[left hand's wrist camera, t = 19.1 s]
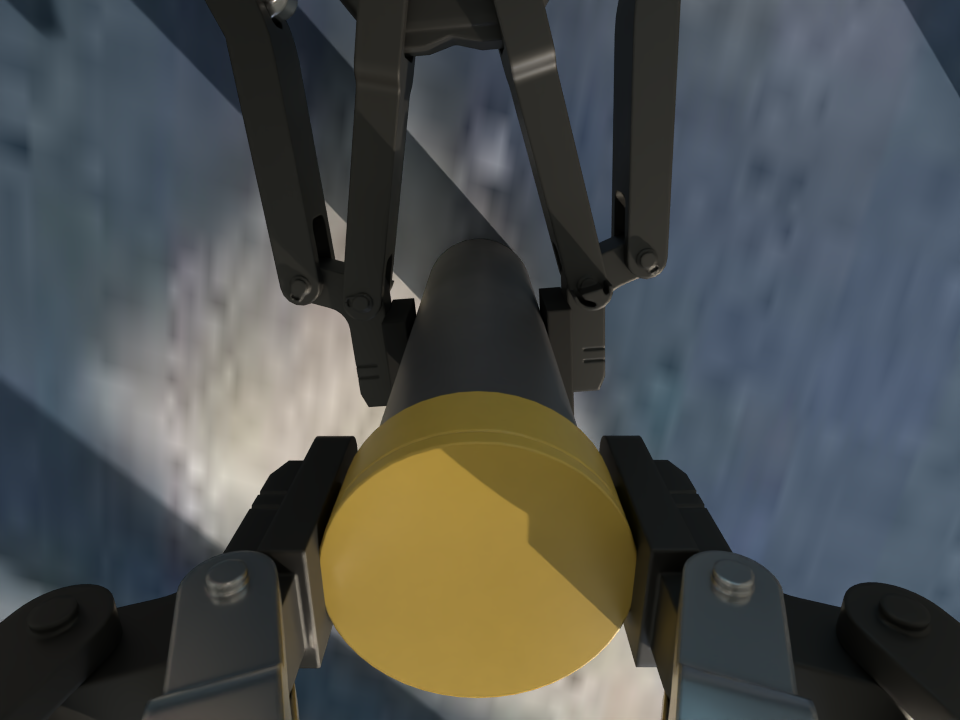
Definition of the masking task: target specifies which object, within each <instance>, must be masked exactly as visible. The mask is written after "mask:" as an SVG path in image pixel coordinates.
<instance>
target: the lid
mask: <svg viewBox="0 0 960 720" xmlns="http://www.w3.org/2000/svg"><path fill="white" fill-rule="evenodd" d="M319 555H320V565H321V574H322V582H323V590H324V598H325V606H326V611H327V613H328V616H329V617H330V619H331V621H332V623H333V625H334V626H335V628H336V630H337V631H338V632H339V634H340V635H341V636H342V638H343V639H344V640H345V642H346V643H347V644H348V645H349V646H350V647H351V648H352V649H353V650H354V651H355V652H356V653H357V654H358V655H359V656H360V657H362V658H363V659H364V660H365V661H367V662H368V663H369V664H370V665H372V666H373V667H375V668H376V669H378V670H379V671H381V672H383V673H384V674H386V675H388V676H390V677H392V678H394V679H396V680H398V681H400V682H402V683H404V684H407V685H410V686H413V687H416V688H418V689H421V690H425V691H429V692H433V693H437V694H442V695H449V696H456V697H470V698H486V697H500V696H507V695H514V694H519V693H523V692H527V691H531V690H535V689H538V688H541V687H543V686H546V685H549V684H552V683H554V682H556V681H558V680H560V679H562V678H564V677H566V676H568V675H570V674H572V673H573V672H575V671H577V670H578V669H580V668H581V667H583V666H584V665H586V664H587V663H588V662H589V661H591V660H592V659H593V658H594V657H596V656H597V655H598V654H599V653H600V652H601V651H602V650H603V649H604V648H605V647H606V646H607V645H608V644H609V643H610V642H611V640H612V639H613V638H614V636H615V635H616V634H617V632H618V631H619V630H620V628H621V626H622V624H623V623H624V621H625V619H626V617H627V615H628V613H629V610H630V608H631V601H632V593H633V585H634V576H635V568H636V557H637V551H636V546H635V542H634V539H633V536H632V532H631V529H630V527H629V524H628V521H627V519H626V516H625V513H624V511H623V508H622V505H621V503H620V500H619V497H618V494H617V492H616V489H615V486H614V484H613V481H612V478H611V476H610V473H609V470H608V468H607V466H606V464H605V462H604V460H603V458H602V456H601V455H600V453H599V452H598V450H597V449H596V447H595V446H594V444H593V443H592V442H591V441H590V439H589V438H588V437H587V436H586V435H585V434H584V433H583V432H582V431H581V430H580V429H579V428H578V427H577V426H575V425H574V424H573V423H572V422H570V421H569V420H568V419H567V418H565V417H563V416H562V415H560V414H559V413H557V412H555V411H554V410H552V409H550V408H548V407H546V406H543V405H541V404H539V403H537V402H535V401H531V400H528V399H525V398H522V397H519V396H515V395H509V394H504V393H498V392H484V391H473V392H458V393H452V394H447V395H441V396H438V397H434V398H431V399H428V400H425V401H422V402H419V403H417V404H415V405H413V406H410V407H408V408H406V409H404V410H402V411H401V412H399V413H398V414H396V415H394V416H393V417H391V418H389V419H388V420H387V421H386V422H384V423H383V424H382V425H381V426H380V427H378V428H377V429H376V430H375V431H374V432H373V433H372V434H371V435H370V436H369V437H368V439H367V440H366V441H365V442H364V443H363V445H362V446H361V447H360V449H359V450H358V452H357V453H356V455H355V456H354V458H353V460H352V463H351V465H350V467H349V469H348V471H347V474H346V476H345V479H344V481H343V484H342V487H341V489H340V492H339V495H338V497H337V500H336V502H335V505H334V508H333V510H332V513H331V516H330V518H329V521H328V523H327V526H326V529H325V531H324V535H323V538H322V541H321V545H320V550H319Z"/></svg>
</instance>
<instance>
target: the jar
mask: <svg viewBox="0 0 960 720" xmlns="http://www.w3.org/2000/svg"><path fill="white" fill-rule="evenodd" d="M473 391H484V392H498V393H504V394H509V395H515V396H519V397H522V398H525V399H528V400H531V401H535V402H537V403H539V404H541V405H543V406H546V407H548V408H550V409H552V410H554V411H555V412H557V413H559V414H560V415H562V416H563V417H565V418H567V419H568V420H569V421H570V422H572V423H573V424H574V425H575V426H577V424H576V421H575V418H574V415H573V412H572V409H571V406H570V403H569V400H568V397H567V393H566V390H565V387H564V384H563V381H562V378H561V375H560V372H559V369H558V366H557V362H556V359H555V356H554V353H553V350H552V347H551V344H550V341H549V338H548V335H547V331H546V328H545V325H544V322H543V319H542V316H541V313H540V310H539V307H538V304H537V301H536V297H535V294H534V291H533V288H532V285H531V282H530V279H529V276H528V273H527V270H526V268H525V266H524V264H523V263H522V261H521V260H520V258H519V257H518V256H517V255H516V254H515V253H514V252H513V251H512V250H510V249H509V248H508V247H506V246H504V245H502V244H500V243H498V242H495V241H491V240H486V239H472V240H467V241H463V242H460V243H458V244H456V245H454V246H452V247H451V248H449V249H448V250H446V251H445V252H444V253H443V254H442V255H441V256H440V257H439V258H438V260H437V261H436V263H435V264H434V266H433V268H432V270H431V273H430V276H429V279H428V282H427V285H426V288H425V291H424V294H423V297H422V300H421V303H420V306H419V309H418V312H417V315H416V318H415V321H414V324H413V327H412V330H411V333H410V336H409V339H408V343H407V346H406V349H405V352H404V355H403V358H402V361H401V364H400V367H399V370H398V373H397V376H396V379H395V382H394V385H393V388H392V391H391V394H390V397H389V400H388V403H387V406H386V409H385V412H384V415H383V418H382V421H381V424H380V426H381V425H382V424H383V423H384V422H386V421H387V420H388V419H389V418H391V417H393V416H394V415H396V414H398V413H399V412H401V411H402V410H404V409H406V408H408V407H410V406H413V405H415V404H417V403H419V402H422V401H425V400H428V399H431V398H434V397H438V396H441V395H447V394H452V393H458V392H473Z"/></svg>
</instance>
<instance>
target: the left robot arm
mask: <svg viewBox="0 0 960 720" xmlns="http://www.w3.org/2000/svg"><path fill="white" fill-rule="evenodd" d="M357 452H358V450H357V443H356V439H355V437H354V436H317V437H316V438H315V440H314V441H313V443H312V445H311V447H310V449H309V451H308V453H307V455H306V457H305V459H304V461H288V462H287V463H285V464H284V465H283V466H281V467H280V468H279V469H277V470H276V471H275V472H273V473H272V474H271V475H270V476H269V477H268V479H267V481H266V482H265V484H264V486H263V487H262V489H261V491H260V495H258V496H257V498H256V499H255V501H254V503H253V504H252V509H249V511H248V513H247V514H246V516H245V518H244V519H243V521H242V523H241V524H240V526H239V528H238V529H237V531H236V533H235V534H234V536H233V538H232V539H231V541H230V543H229V544H228V546H227V548H226V549H225V551H224V553H223V554H220V555H218V556H215V557H212V558H210V559H208V560H206V561H204V562H203V563H201V564H199V565H198V566H196V567H195V568H194V569H192V570H191V571H190V572H189V573H188V574H187V575H186V576H185V577H184V579H183V580H182V581H181V583H180V585H179V587H178V590H177V593H174V594H171V595H169V596H165V597H162V598H158V599H154V600H150V601H145V602H141V603H136V604H132V605H128V606H123V607H119V608H116V605H115V601H114V598H113V595H112V593H111V592H110V591H109V590H108V589H106V588H104V587H102V586H99V585H93V584H80V585H72V586H68V587H63V588H60V589H57V590H53V591H51V592H48V593H46V594H43V595H41V596H39V597H37V598H35V599H33V600H31V601H30V602H28V603H26V604H25V605H23V606H22V607H20V608H19V609H18V610H16V611H15V612H13V613H12V614H11V615H10V616H8V617H7V618H6V619H5V620H3V621H2V622H1V623H0V720H299V713H298V702H297V695H296V689H295V679H296V676H297V672H298V669H299V668H320V666H321V663H322V660H323V656H324V653H325V649H326V646H327V643H328V639H329V636H330V632H331V629H332V625H333V623H332V621H331V619H330V617H329V616H328V613H327V611H326V606H325V598H324V590H323V582H322V574H321V565H320V555H319V550H320V545H321V541H322V538H323V535H324V531H325V529H326V526H327V523H328V521H329V518H330V516H331V513H332V510H333V508H334V505H335V502H336V500H337V497H338V495H339V492H340V489H341V487H342V484H343V481H344V479H345V476H346V474H347V471H348V469H349V467H350V465H351V463H352V460H353V458H354V456H355V455H356V453H357ZM599 453H600V455H601V456H602V458H603V460H604V462H605V464H606V466H607V468H608V470H609V473H610V476H611V478H612V481H613V484H614V486H615V489H616V492H617V494H618V497H619V500H620V503H621V505H622V508H623V511H624V513H625V516H626V519H627V521H628V524H629V527H630V529H631V532H632V536H633V539H634V542H635V546H636V551H637V557H636V568H635V576H634V585H633V593H632V601H631V608H630V610H629V613H628V615H627V617H626V619H625V621H624V627H625V630H626V634H627V637H628V641H629V644H630V648H631V651H632V655H633V658H634V662H635V665H636V667H657V669H658V672H659V675H660V678H661V681H662V685H663V688H664V695H663V702H662V713H661V720H960V623H959V622H958V621H957V620H955V619H954V618H953V617H952V616H950V615H949V614H948V613H947V612H945V611H944V610H943V609H941V608H940V607H939V606H937V605H936V604H934V603H933V602H931V601H929V600H928V599H926V598H924V597H922V596H920V595H918V594H916V593H914V592H911V591H909V590H906V589H904V588H901V587H897V586H894V585H889V584H884V583H877V582H867V583H860V584H857V585H854V586H852V587H850V588H849V589H848V590H847V591H846V593H845V596H844V599H843V602H842V606H841V607H837V606H832V605H828V604H824V603H819V602H815V601H810V600H806V599H802V598H797V597H794V596H790V595H787V594H784V593H783V590H782V587H781V585H780V583H779V581H778V580H777V579H776V577H775V576H774V575H773V574H772V573H771V572H770V571H769V570H768V569H766V568H765V567H764V566H762V565H761V564H759V563H757V562H756V561H754V560H752V559H750V558H748V557H745V556H742V555H740V554H736V553H733V552H732V551H731V549H730V547H729V546H728V544H727V542H726V541H725V539H724V537H723V535H722V534H721V532H720V530H719V529H718V527H717V525H716V524H715V522H714V520H713V518H712V517H711V515H710V513H709V512H708V510H707V508H704V503H703V501H702V500H701V498H700V496H699V495H698V494H696V490H695V488H694V486H693V484H692V483H691V481H690V479H689V478H688V476H687V474H686V473H684V472H683V471H682V470H680V469H679V468H678V467H676V466H675V465H674V464H672V463H671V462H670V461H668V460H653V459H652V457H651V455H650V453H649V451H648V449H647V447H646V445H645V443H644V441H643V440H642V438H641V437H640V436H603V437H602V438H601V442H600V450H599Z"/></svg>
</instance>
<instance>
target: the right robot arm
mask: <svg viewBox="0 0 960 720" xmlns="http://www.w3.org/2000/svg"><path fill="white" fill-rule="evenodd" d="M205 1H206V3H207V5H208V7H209V9H210V10H211V12H212V14H213V16H214V18H215V19H216V21H217V23H218V25H219V27H220V28H221V30H222V32H223V34H224V36H225V38H226V42H227V47H228V51H229V56H230V60H231V65H232V69H233V74H234V79H235V83H236V88H237V92H238V97H239V101H240V106H241V110H242V115H243V119H244V124H245V129H246V133H247V138H248V142H249V147H250V151H251V156H252V160H253V165H254V169H255V174H256V179H257V183H258V188H259V192H260V197H261V201H262V206H263V210H264V215H265V220H266V224H267V229H268V233H269V238H270V242H271V247H272V251H273V256H274V260H275V265H276V270H277V274H278V279H279V283H280V288H281V290H282V293H283V295H284V296H285V297H286V298H287V299H288V301H290V302H292V303H294V304H296V305H307V304H311V303H313V304H317V305H321V306H324V307H328V308H331V309H334V310H336V311H338V312H339V313H341V314H342V315H343V316H344V317H345V318H346V320H347V322H348V324H349V327H350V331H351V337H352V344H353V350H354V356H355V362H356V366H357V374H358V378H359V386H360V392H361V395H362V397H363V398H364V400H365V402H366V403H367V405H368V406H369V407H377V406H387V403H388V400H389V397H390V394H391V391H392V388H393V385H394V382H395V379H396V376H397V373H398V370H399V367H400V364H401V361H402V358H403V355H404V352H405V349H406V346H407V343H408V339H409V336H410V333H411V330H412V327H413V324H414V321H415V318H416V309H415V301H414V298H410V299H397V300H393V301H392V303H391V297H390V290H391V288H392V286H393V283H394V281H393V280H392V274H393V264H394V253H395V243H396V233H397V222H398V212H399V201H400V191H401V181H402V170H403V160H404V150H405V139H406V129H407V119H408V108H409V98H410V92H411V88H412V83H413V75H414V65H415V56H422V55H431V54H433V53H436V52H438V51H441V50H443V49H446V48H448V47H451V46H453V45H460V46H464V47H469V48H474V49H479V50H490V49H499V53H500V57H501V61H502V64H503V68H504V71H505V75H506V78H507V81H508V84H509V87H510V90H511V94H512V98H513V101H514V105H515V109H516V113H517V116H518V120H519V124H520V127H521V131H522V135H523V139H524V142H525V146H526V150H527V153H528V157H529V161H530V165H531V168H532V172H533V176H534V179H535V183H536V187H537V191H538V194H539V198H540V202H541V205H542V209H543V213H544V217H545V220H546V224H547V228H548V231H549V235H550V239H551V243H552V246H553V250H554V254H555V257H556V261H557V265H558V269H559V272H560V275H561V287H554V288H541V289H539V300H540V313H541V316H542V319H543V322H544V325H545V328H546V331H547V335H548V338H549V341H550V344H551V347H552V350H553V353H554V356H555V359H556V362H557V366H558V369H559V372H560V375H561V378H562V381H563V384H564V387H565V390H566V393H567V397H568V400H569V403H570V406H571V409H572V412H573V415H574V398H573V392H580V391H594V390H599V389H600V387H601V384H602V382H603V380H604V377H605V306H606V304H607V303H608V302H609V301H610V299H611V297H612V294H613V291H614V290H615V289H616V288H618V287H620V286H621V285H624V284H626V283H628V282H631V281H633V280H635V279H638V278H643V279H649V278H653V277H655V276H657V275H658V274H659V273H661V272H662V270H663V269H664V267H665V266H666V262H667V257H668V238H669V218H670V198H671V179H672V159H673V139H674V120H675V100H676V80H677V61H678V41H679V22H680V2H681V0H619V2H618V7H617V13H616V23H615V47H614V108H613V170H612V232H611V238H609V239H607V240H605V241H602V242H600V243H599V242H598V238H597V234H596V229H595V225H594V221H593V217H592V213H591V209H590V205H589V200H588V196H587V192H586V188H585V184H584V180H583V175H582V171H581V167H580V163H579V159H578V155H577V150H576V146H575V142H574V138H573V134H572V130H571V126H570V121H569V117H568V113H567V109H566V105H565V101H564V96H563V92H562V88H561V84H560V80H559V76H558V71H557V66H556V55H555V49H554V44H553V39H552V35H551V31H550V27H549V23H548V18H547V14H546V10H545V7H546V5H547V3H548V1H549V0H340V1H341V2H342V4H343V5H344V6H345V7H346V8H347V10H348V11H349V12H350V13H351V15H352V16H353V17H354V18H355V20H356V21H357V22H356V38H355V54H354V74H355V79H356V95H355V110H354V126H353V141H352V156H351V171H350V186H349V201H348V216H347V231H346V246H345V261H344V262H342V261H338V260H335V255H334V250H333V244H332V239H331V233H330V228H329V222H328V217H327V211H326V206H325V200H324V195H323V189H322V184H321V179H320V173H319V168H318V162H317V157H316V151H315V146H314V140H313V135H312V129H311V124H310V118H309V113H308V107H307V102H306V96H305V91H304V85H303V80H302V74H301V69H300V63H299V59H298V55H297V50H296V46H295V43H294V40H293V37H292V34H291V31H290V28H289V26H288V24H287V22H286V20H287V19H289V18H290V17H291V16H292V15H293V14H294V12H295V10H296V7H297V4H298V0H205Z"/></svg>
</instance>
